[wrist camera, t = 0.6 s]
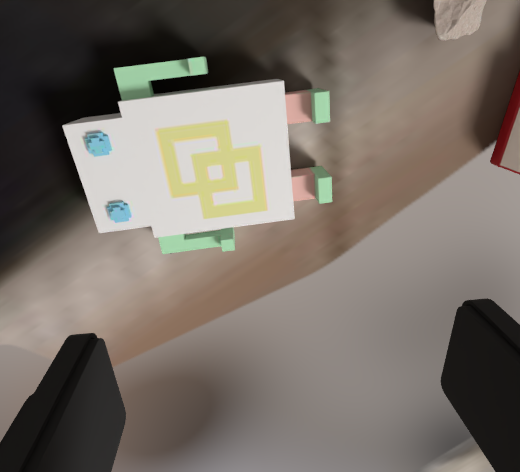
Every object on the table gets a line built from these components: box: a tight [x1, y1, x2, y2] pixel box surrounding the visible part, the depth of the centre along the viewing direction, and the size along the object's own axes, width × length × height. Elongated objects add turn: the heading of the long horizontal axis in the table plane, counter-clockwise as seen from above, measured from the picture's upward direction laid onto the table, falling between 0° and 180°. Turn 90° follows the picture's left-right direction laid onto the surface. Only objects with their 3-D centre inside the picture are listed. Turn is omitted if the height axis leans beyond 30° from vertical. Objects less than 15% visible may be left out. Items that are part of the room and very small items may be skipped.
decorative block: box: [62, 57, 332, 254], centre depth 39 cm, size 26×6×20 cm
